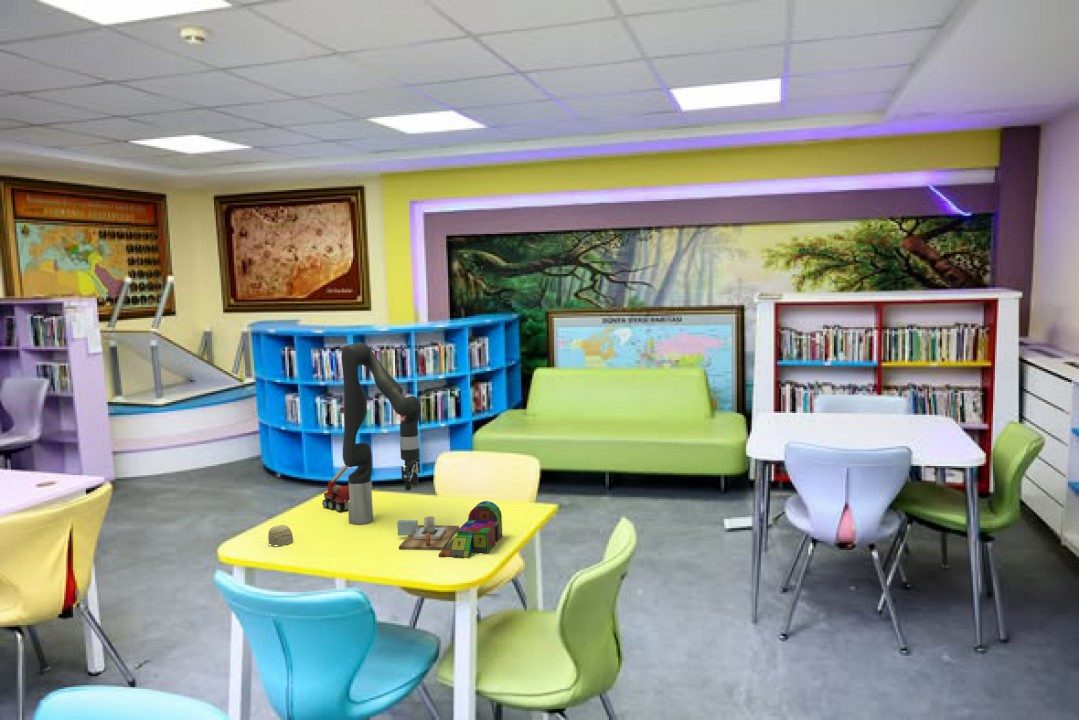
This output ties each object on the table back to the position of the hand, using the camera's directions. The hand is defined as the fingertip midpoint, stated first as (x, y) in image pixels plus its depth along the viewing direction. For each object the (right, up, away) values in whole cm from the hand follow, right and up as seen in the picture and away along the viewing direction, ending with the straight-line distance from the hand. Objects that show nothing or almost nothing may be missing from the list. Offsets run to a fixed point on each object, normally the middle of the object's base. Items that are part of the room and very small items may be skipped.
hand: (411, 487), depth 312 cm
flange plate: (+5, -17, -8) cm, 19 cm away
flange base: (+8, -18, -8) cm, 22 cm away
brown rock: (-50, -21, -7) cm, 54 cm away
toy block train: (+25, -19, -19) cm, 37 cm away
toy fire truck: (-38, -15, +38) cm, 56 cm away
